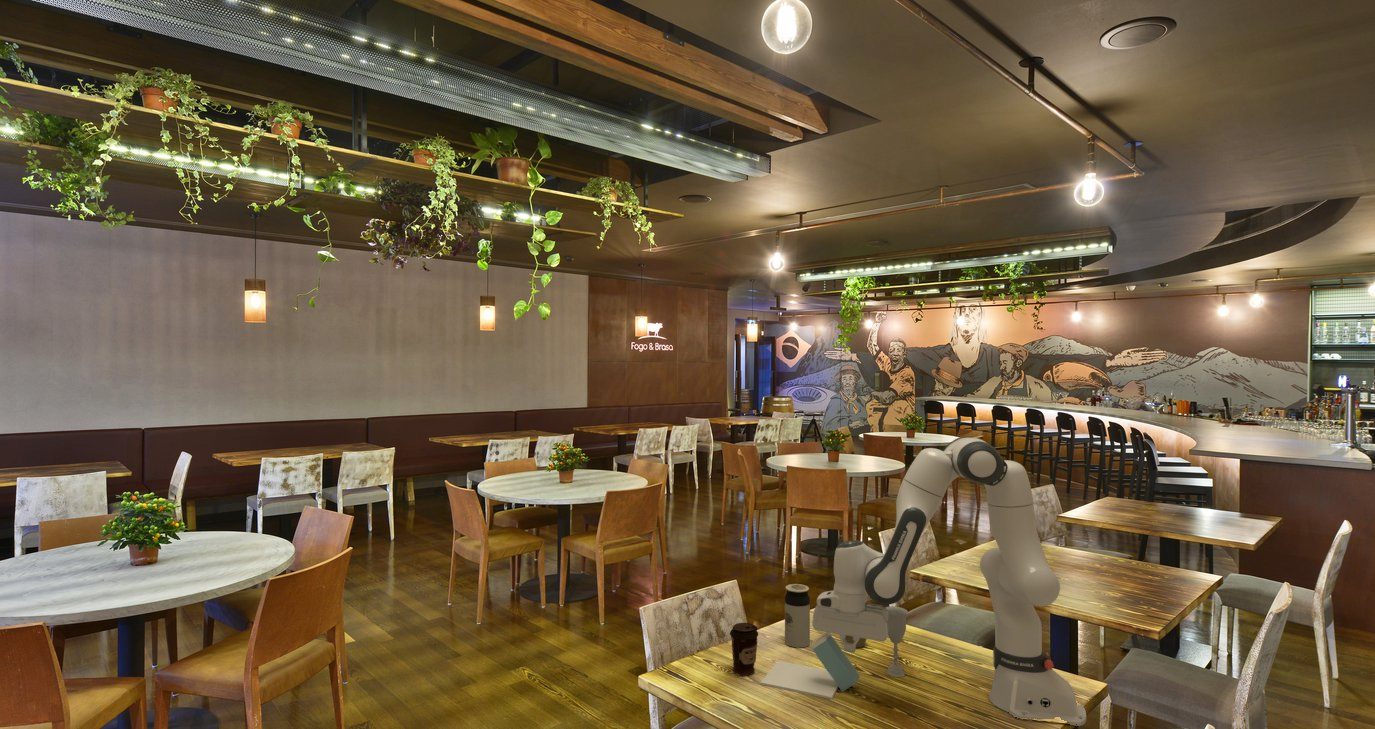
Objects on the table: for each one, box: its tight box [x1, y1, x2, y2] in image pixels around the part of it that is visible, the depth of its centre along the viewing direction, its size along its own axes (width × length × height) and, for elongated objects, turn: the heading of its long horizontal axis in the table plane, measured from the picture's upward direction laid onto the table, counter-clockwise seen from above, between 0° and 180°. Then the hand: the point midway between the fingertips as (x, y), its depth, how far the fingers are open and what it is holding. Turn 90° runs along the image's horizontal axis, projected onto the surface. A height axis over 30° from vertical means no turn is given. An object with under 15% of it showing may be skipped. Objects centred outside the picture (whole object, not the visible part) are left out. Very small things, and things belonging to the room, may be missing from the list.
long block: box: [809, 632, 861, 693], centre depth 188 cm, size 5×5×14 cm
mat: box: [760, 660, 839, 700], centre depth 192 cm, size 20×16×1 cm
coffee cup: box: [729, 622, 759, 676], centre depth 198 cm, size 9×8×13 cm
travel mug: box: [784, 583, 811, 649], centre depth 219 cm, size 8×8×18 cm
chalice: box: [884, 606, 909, 678], centre depth 197 cm, size 7×7×18 cm
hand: (849, 651), depth 186 cm, fingers closed
